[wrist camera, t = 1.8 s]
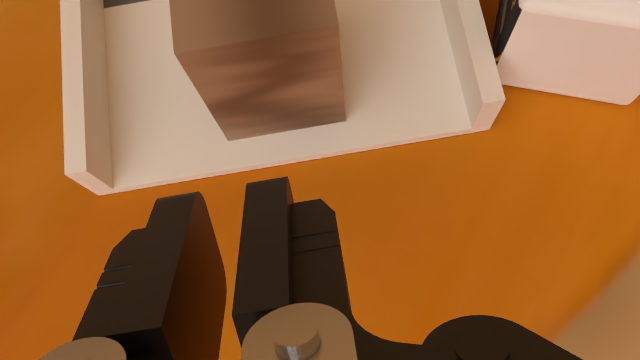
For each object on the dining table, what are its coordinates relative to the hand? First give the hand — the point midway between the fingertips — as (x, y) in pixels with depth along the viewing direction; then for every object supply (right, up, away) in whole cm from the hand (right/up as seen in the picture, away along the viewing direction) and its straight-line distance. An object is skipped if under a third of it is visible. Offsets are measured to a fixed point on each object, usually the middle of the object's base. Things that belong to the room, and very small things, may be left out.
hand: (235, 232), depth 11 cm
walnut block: (-1, +6, +20) cm, 21 cm away
